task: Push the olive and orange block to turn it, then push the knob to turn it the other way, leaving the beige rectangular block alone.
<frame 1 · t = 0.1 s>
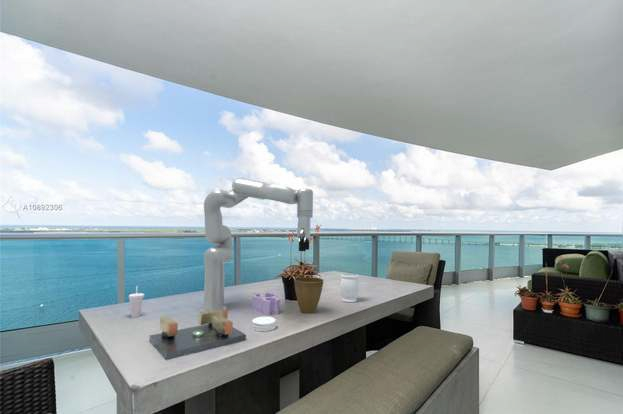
hand: (304, 250, 150), 31 cm above the table, tool pointing down, fingers open, 9 cm apart
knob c: (222, 326, 116), point 5 cm above the table, hinge at 0.0°
olive and orange block: (168, 327, 113), point 5 cm above the table, hinge at 0.0°
coaster: (264, 328, 131), on the table
smoothie: (135, 316, 143), on the table
plant pot: (308, 311, 157), on the table
beige rectangular block: (213, 318, 126), point 5 cm above the table, hinge at 0.0°
clip: (266, 310, 159), on the table
plate: (198, 340, 115), on the table
jar: (349, 301, 181), on the table
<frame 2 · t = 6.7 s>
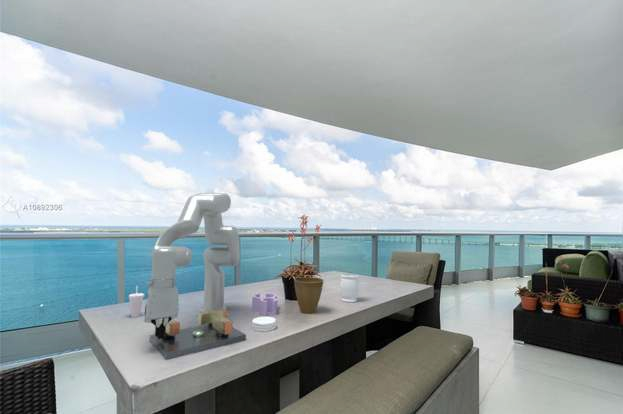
hand: (160, 337, 108), 3 cm above the table, tool pointing down, fingers closed
olive and orange block: (168, 327, 113), point 5 cm above the table, hinge at 9.3°
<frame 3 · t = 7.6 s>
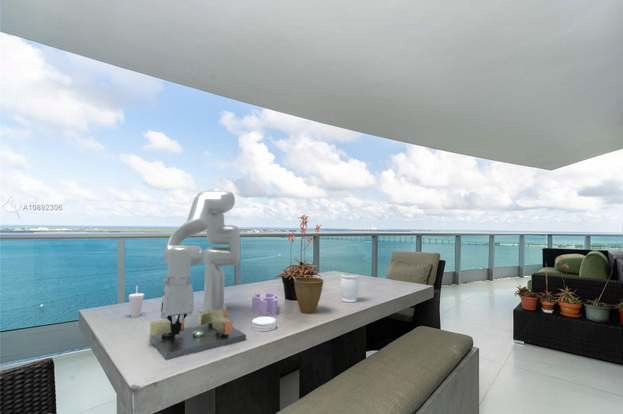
hand: (175, 333, 111), 4 cm above the table, tool pointing down, fingers closed
olive and orange block: (167, 328, 113), point 5 cm above the table, hinge at 78.6°, touching gripper
everything else where it was.
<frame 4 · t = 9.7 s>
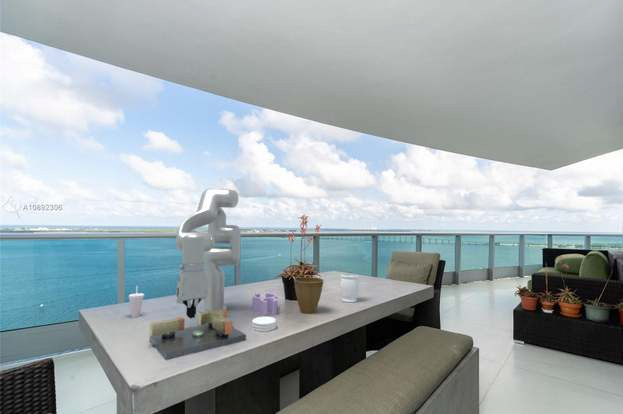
hand: (191, 317, 116), 8 cm above the table, tool pointing down, fingers closed
olive and orange block: (167, 328, 113), point 5 cm above the table, hinge at 92.8°
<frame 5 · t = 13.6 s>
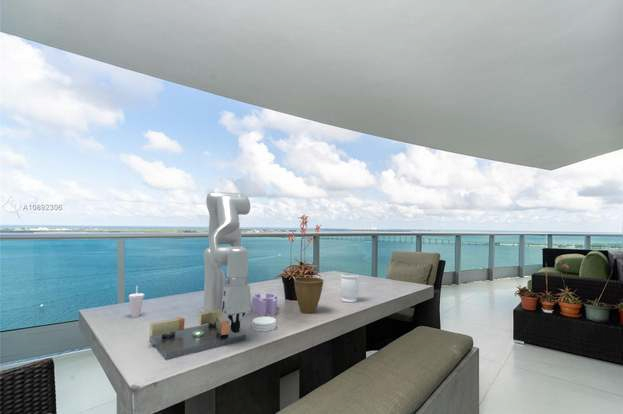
hand: (235, 331, 115), 3 cm above the table, tool pointing down, fingers closed
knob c: (222, 326, 116), point 5 cm above the table, hinge at -14.0°, touching gripper
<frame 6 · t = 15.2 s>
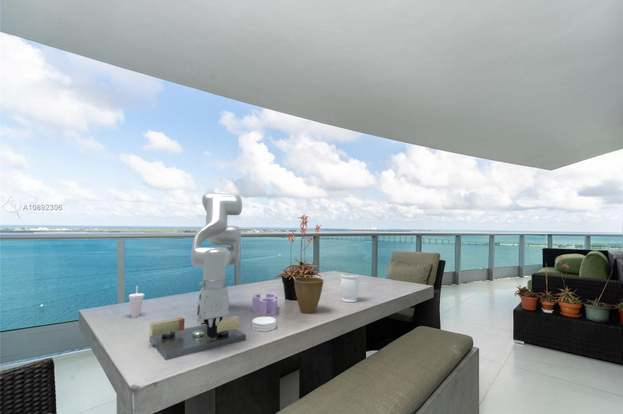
hand: (211, 336, 110), 3 cm above the table, tool pointing down, fingers closed
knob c: (223, 326, 116), point 5 cm above the table, hinge at -89.8°
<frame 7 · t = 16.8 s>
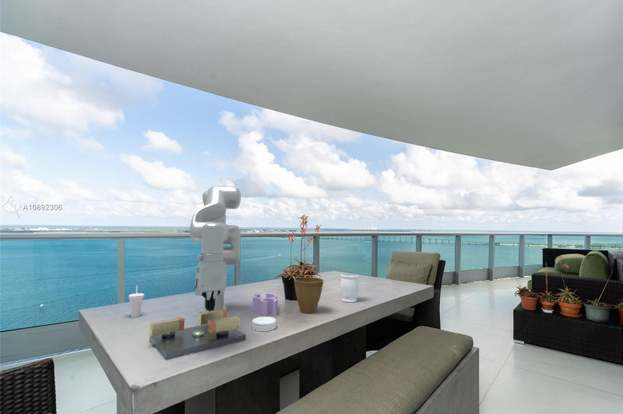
hand: (209, 310, 110), 12 cm above the table, tool pointing down, fingers closed
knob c: (223, 326, 116), point 5 cm above the table, hinge at -95.8°
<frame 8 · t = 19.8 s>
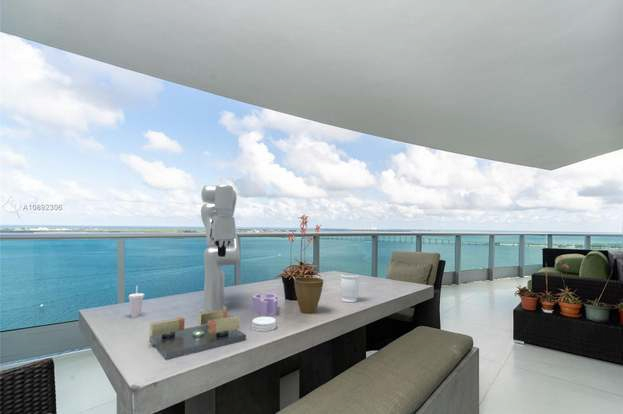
hand: (221, 256, 133), 29 cm above the table, tool pointing down, fingers closed
at the end: olive and orange block at +93° (first picture: +0°); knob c at -96° (first picture: +0°); beige rectangular block at +0° (first picture: +0°) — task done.
